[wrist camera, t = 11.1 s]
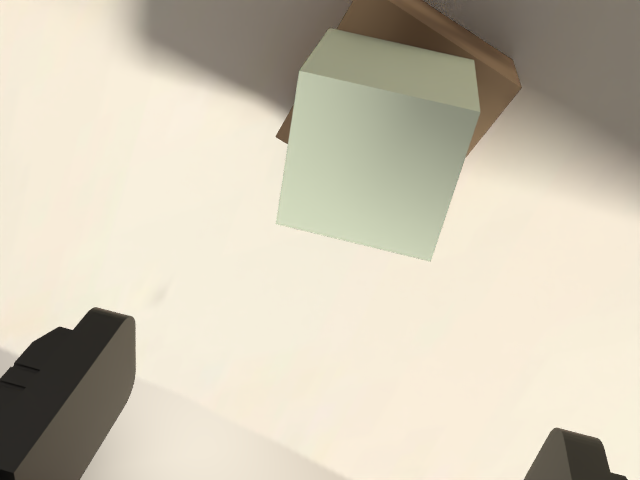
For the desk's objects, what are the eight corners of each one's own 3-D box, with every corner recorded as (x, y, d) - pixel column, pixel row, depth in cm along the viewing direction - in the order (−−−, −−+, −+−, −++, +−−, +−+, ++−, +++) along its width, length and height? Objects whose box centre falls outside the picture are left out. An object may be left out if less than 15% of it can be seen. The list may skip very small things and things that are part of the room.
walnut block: (512, 58, 26) (521, 87, 23) (418, 180, 30) (415, 220, 26) (373, -33, 25) (362, -17, 22) (295, 104, 29) (275, 136, 26)
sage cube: (473, 59, 22) (480, 111, 18) (433, 188, 25) (430, 261, 21) (329, 27, 23) (299, 70, 18) (306, 158, 26) (276, 223, 21)
